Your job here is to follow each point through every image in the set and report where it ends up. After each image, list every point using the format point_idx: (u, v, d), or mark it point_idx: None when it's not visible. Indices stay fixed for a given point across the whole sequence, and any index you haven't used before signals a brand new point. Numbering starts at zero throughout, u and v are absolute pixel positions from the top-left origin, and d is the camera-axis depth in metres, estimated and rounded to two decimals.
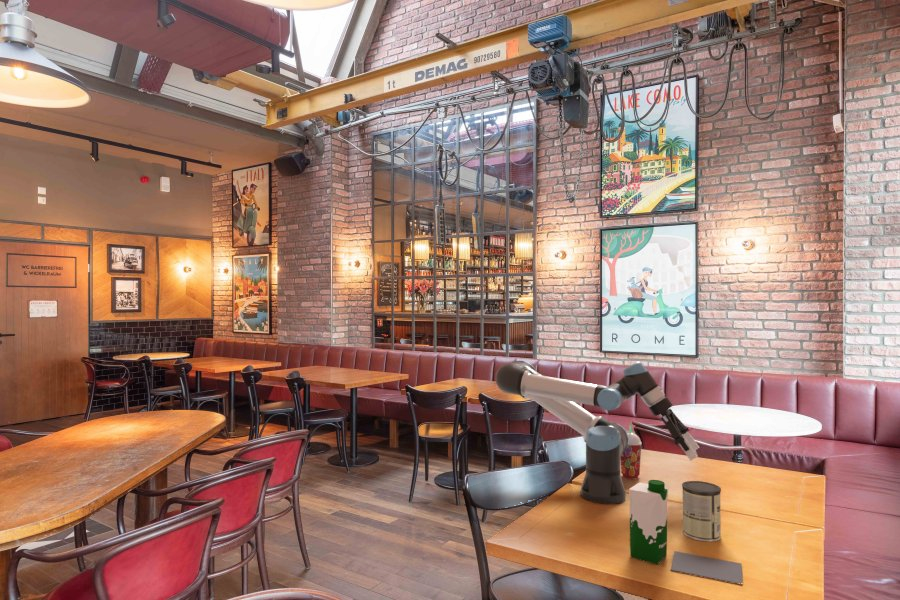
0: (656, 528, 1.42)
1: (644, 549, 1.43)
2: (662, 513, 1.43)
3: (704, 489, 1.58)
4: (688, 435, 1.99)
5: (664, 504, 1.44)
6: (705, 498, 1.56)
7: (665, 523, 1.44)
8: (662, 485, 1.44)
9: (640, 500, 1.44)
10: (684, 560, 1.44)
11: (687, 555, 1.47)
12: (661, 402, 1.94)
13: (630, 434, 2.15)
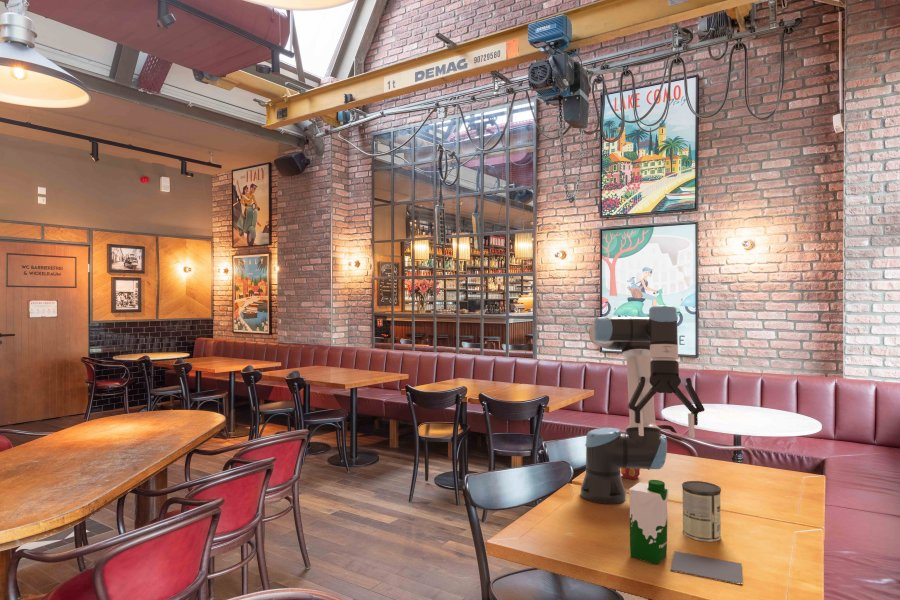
0: (656, 528, 1.42)
1: (644, 549, 1.43)
2: (662, 513, 1.43)
3: (704, 489, 1.58)
4: (690, 417, 1.54)
5: (664, 503, 1.44)
6: (705, 498, 1.56)
7: (665, 523, 1.44)
8: (662, 485, 1.44)
9: (640, 500, 1.44)
10: (684, 560, 1.44)
11: (687, 555, 1.47)
12: (653, 362, 1.56)
13: None
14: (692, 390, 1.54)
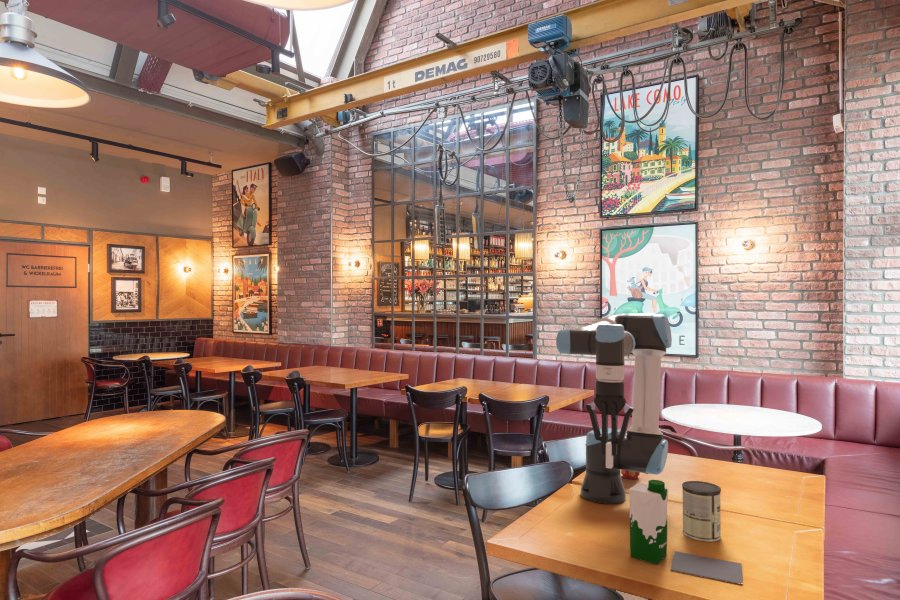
0: (656, 528, 1.42)
1: (644, 549, 1.43)
2: (662, 513, 1.43)
3: (704, 489, 1.58)
4: None
5: (664, 504, 1.44)
6: (705, 498, 1.56)
7: (665, 523, 1.44)
8: (662, 485, 1.44)
9: (640, 500, 1.44)
10: (684, 560, 1.44)
11: (687, 555, 1.47)
12: (596, 383, 1.52)
13: None
14: (626, 420, 1.48)
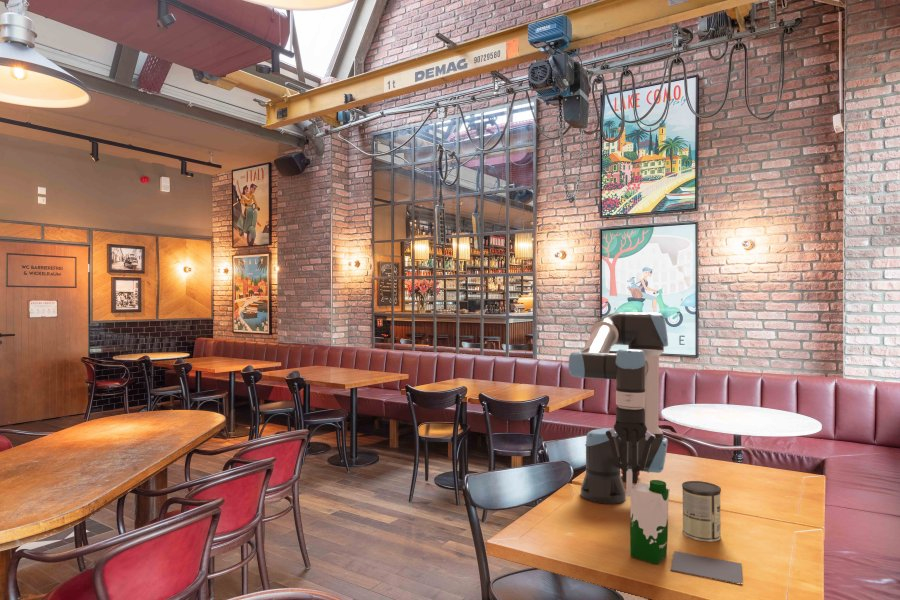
0: (657, 528, 1.42)
1: (644, 549, 1.43)
2: (663, 514, 1.43)
3: (704, 489, 1.58)
4: None
5: (665, 504, 1.43)
6: (705, 498, 1.56)
7: (666, 523, 1.44)
8: (664, 485, 1.44)
9: (641, 500, 1.44)
10: (684, 560, 1.44)
11: (687, 555, 1.47)
12: (616, 409, 1.49)
13: None
14: (647, 448, 1.46)
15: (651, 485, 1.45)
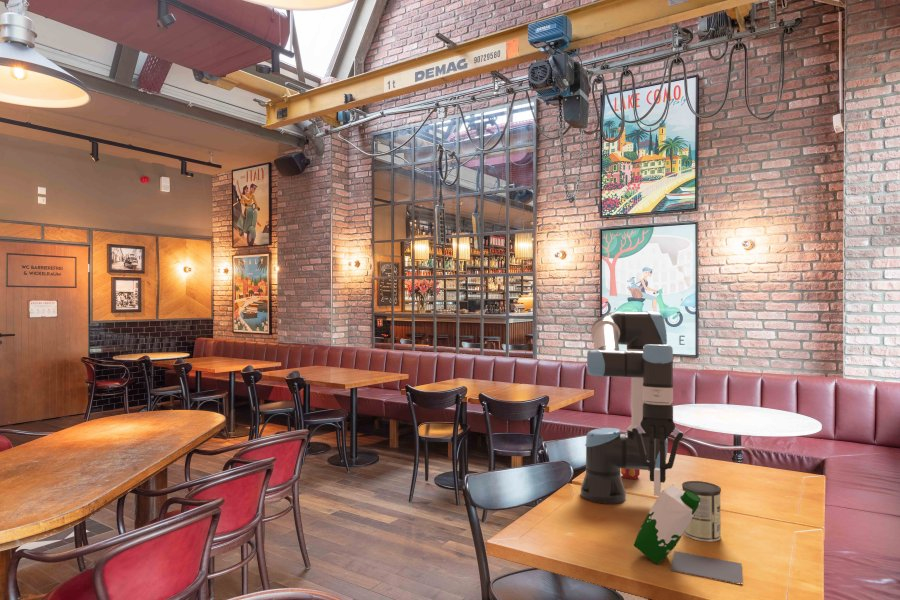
0: (672, 536, 1.39)
1: (651, 547, 1.42)
2: (685, 526, 1.39)
3: (704, 489, 1.58)
4: None
5: (690, 517, 1.39)
6: (705, 498, 1.56)
7: (682, 533, 1.41)
8: (698, 502, 1.38)
9: (669, 506, 1.39)
10: (684, 560, 1.44)
11: (687, 555, 1.47)
12: (643, 405, 1.46)
13: None
14: (675, 445, 1.42)
15: (685, 496, 1.39)
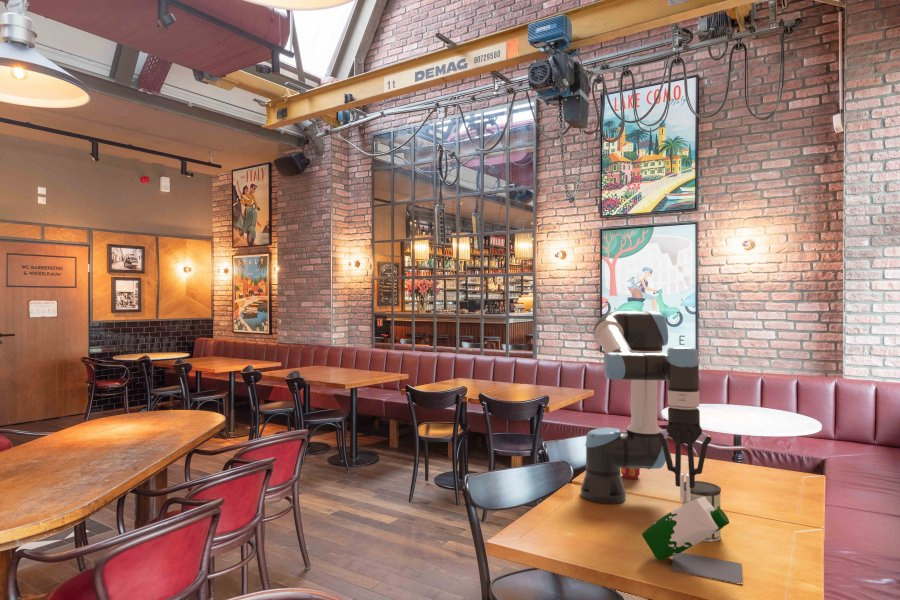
0: (686, 542, 1.38)
1: (659, 543, 1.41)
2: (703, 539, 1.37)
3: (704, 489, 1.58)
4: (686, 479, 1.41)
5: (711, 534, 1.37)
6: None
7: (695, 544, 1.40)
8: (726, 523, 1.36)
9: (697, 516, 1.37)
10: (684, 560, 1.44)
11: (687, 555, 1.47)
12: (669, 410, 1.43)
13: None
14: (704, 449, 1.39)
15: (716, 513, 1.37)
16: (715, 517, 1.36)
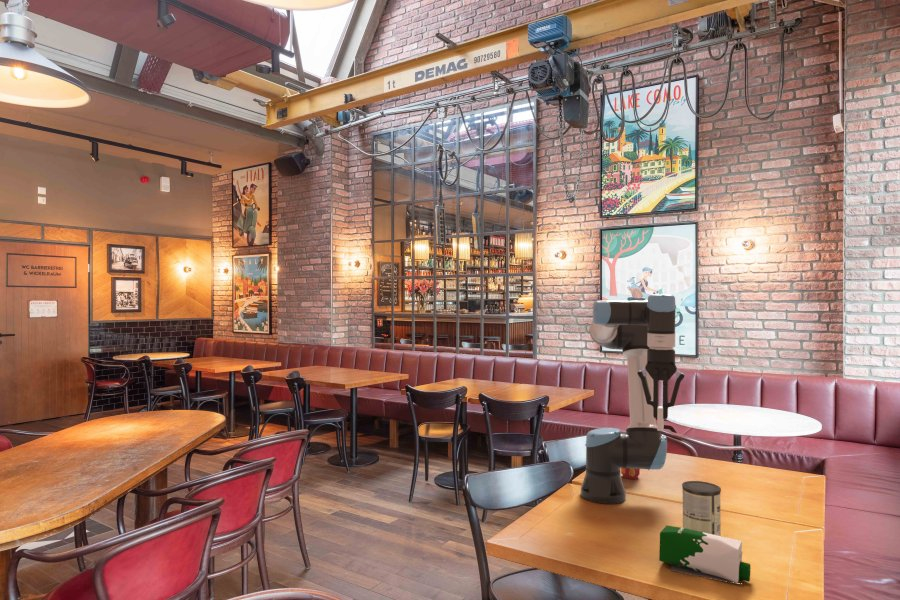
0: (698, 569, 1.36)
1: (672, 552, 1.39)
2: (715, 575, 1.35)
3: (704, 489, 1.58)
4: None
5: None
6: (705, 498, 1.56)
7: None
8: None
9: (727, 562, 1.31)
10: None
11: None
12: (648, 350, 1.59)
13: None
14: (677, 385, 1.56)
15: (745, 569, 1.32)
16: (742, 571, 1.32)
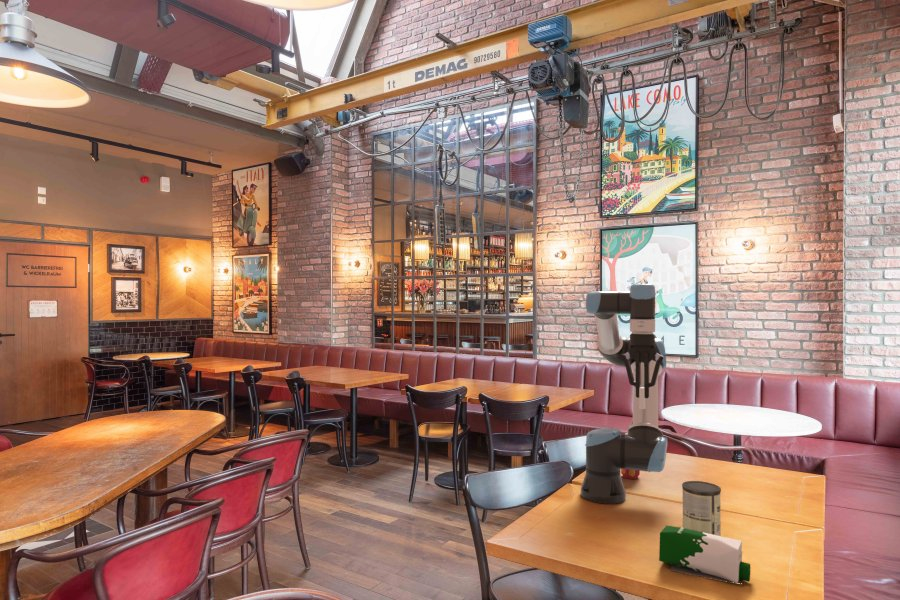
0: (698, 569, 1.36)
1: (672, 552, 1.39)
2: (715, 575, 1.35)
3: (704, 489, 1.58)
4: None
5: None
6: (705, 498, 1.56)
7: None
8: None
9: (727, 562, 1.31)
10: None
11: None
12: (630, 335, 1.74)
13: None
14: (657, 367, 1.71)
15: (745, 569, 1.32)
16: (742, 571, 1.32)
